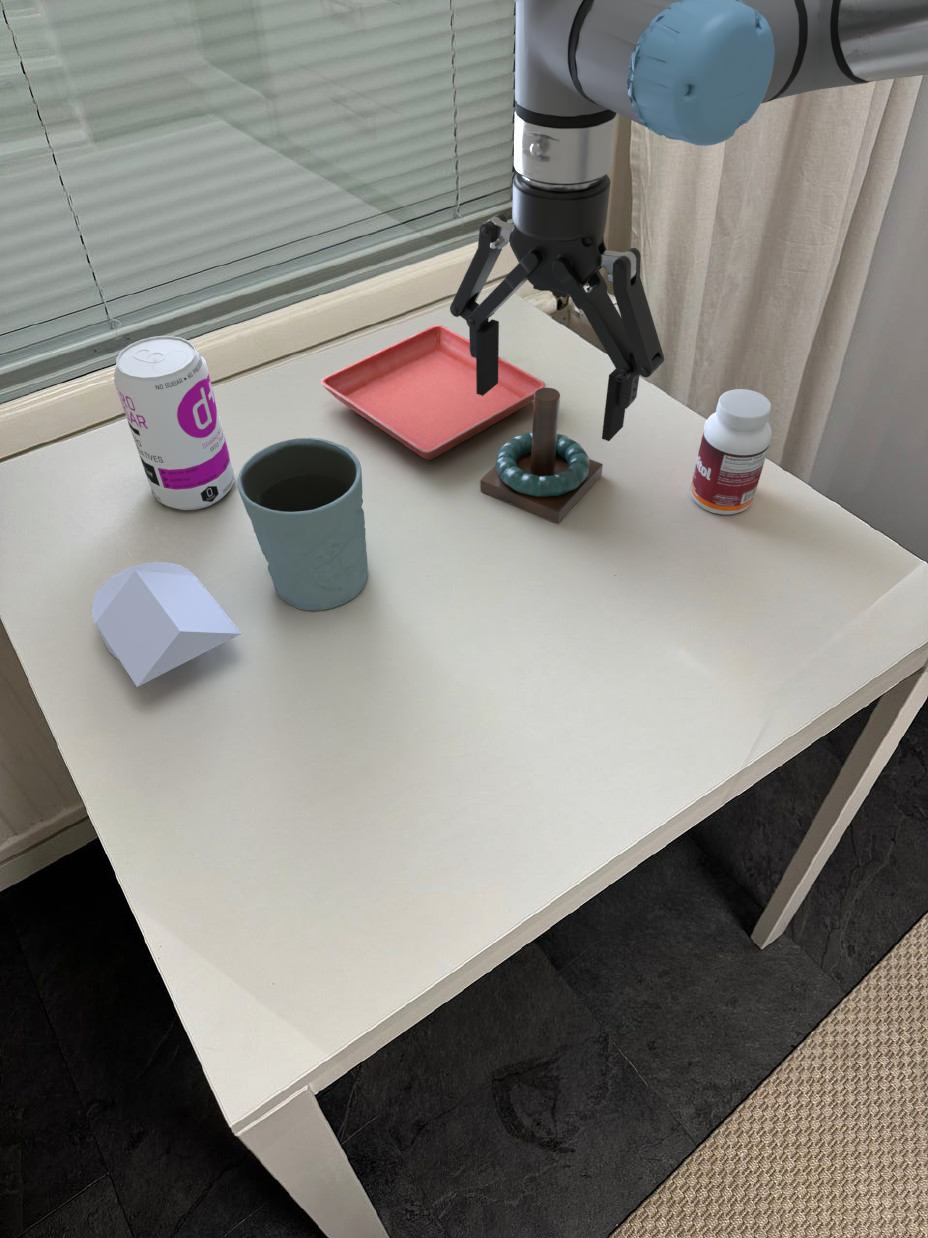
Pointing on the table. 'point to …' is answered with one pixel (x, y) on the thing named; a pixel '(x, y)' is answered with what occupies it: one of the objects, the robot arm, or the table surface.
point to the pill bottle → (732, 452)
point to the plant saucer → (430, 391)
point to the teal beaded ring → (542, 484)
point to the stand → (542, 464)
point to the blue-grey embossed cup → (308, 520)
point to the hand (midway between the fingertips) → (547, 410)
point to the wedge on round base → (158, 619)
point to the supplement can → (174, 421)
